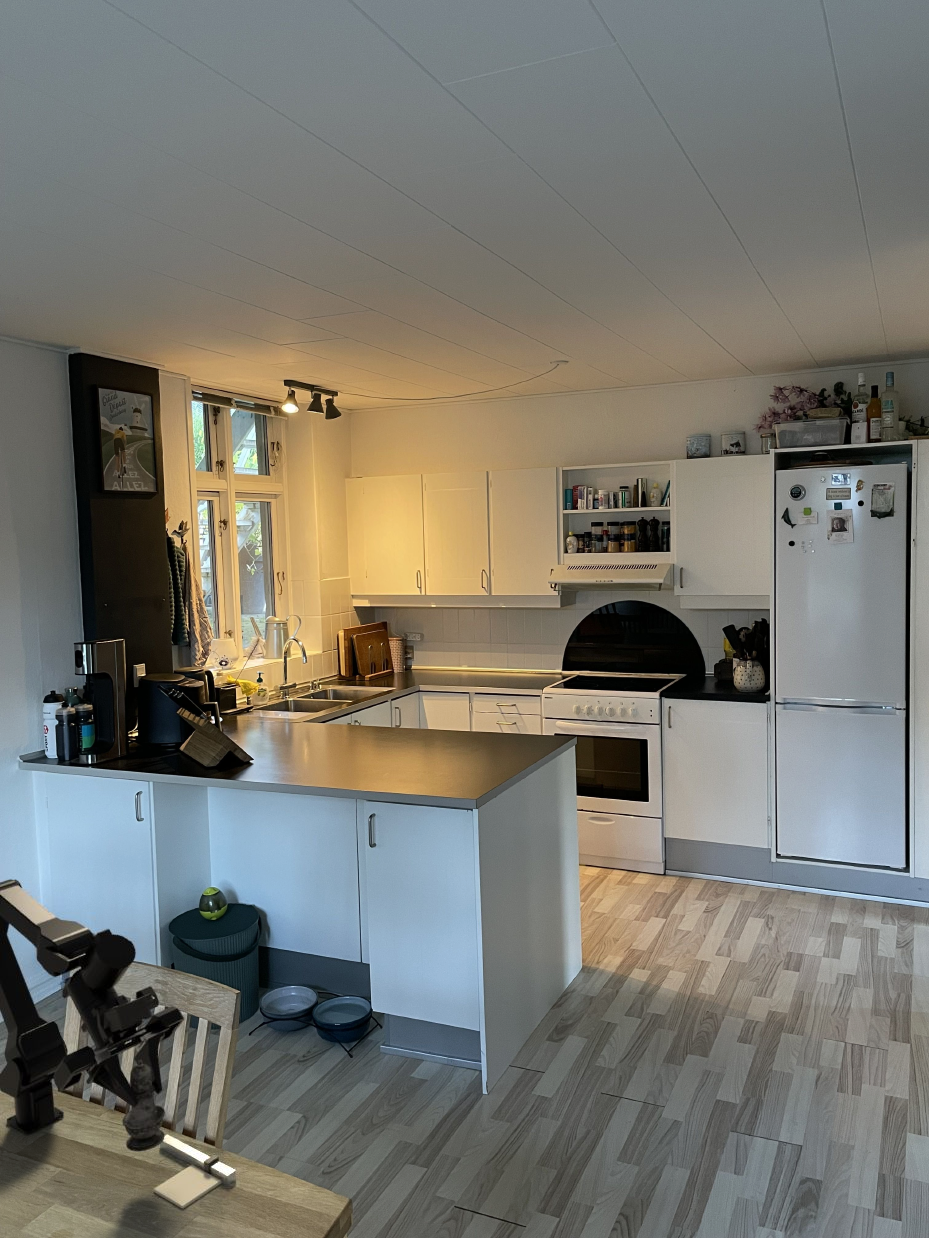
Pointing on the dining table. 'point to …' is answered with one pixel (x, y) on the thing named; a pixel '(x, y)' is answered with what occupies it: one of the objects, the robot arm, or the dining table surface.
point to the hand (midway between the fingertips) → (148, 1098)
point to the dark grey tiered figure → (143, 1112)
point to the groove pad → (187, 1186)
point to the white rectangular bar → (199, 1159)
